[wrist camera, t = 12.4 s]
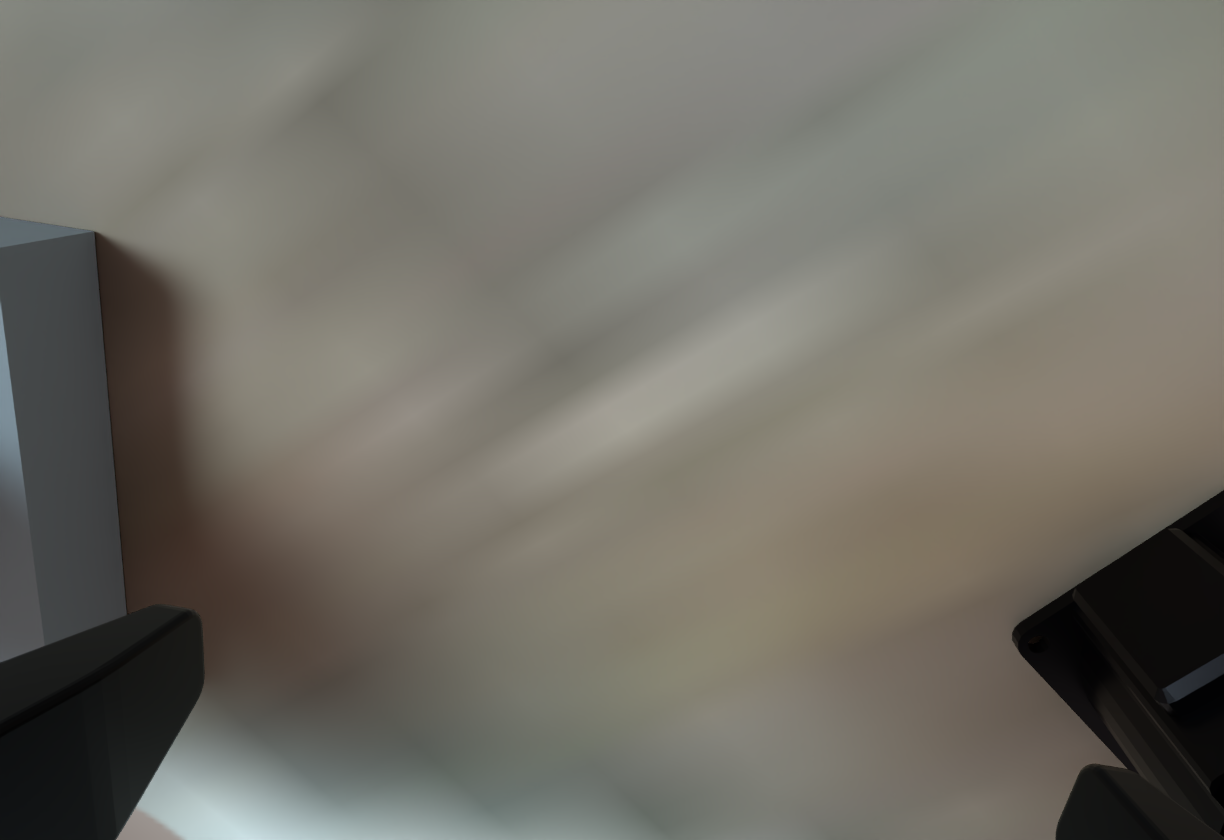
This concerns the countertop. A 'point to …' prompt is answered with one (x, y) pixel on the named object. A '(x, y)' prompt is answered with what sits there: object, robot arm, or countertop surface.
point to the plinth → (54, 442)
